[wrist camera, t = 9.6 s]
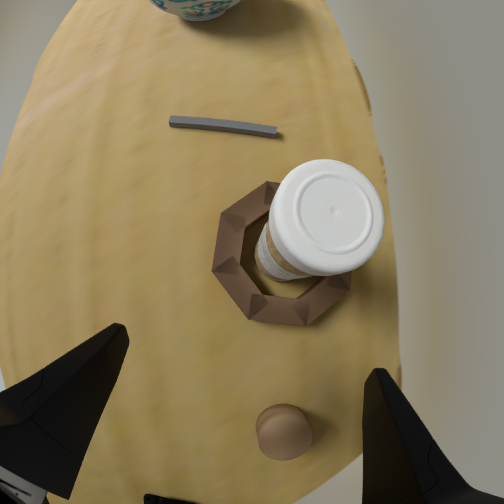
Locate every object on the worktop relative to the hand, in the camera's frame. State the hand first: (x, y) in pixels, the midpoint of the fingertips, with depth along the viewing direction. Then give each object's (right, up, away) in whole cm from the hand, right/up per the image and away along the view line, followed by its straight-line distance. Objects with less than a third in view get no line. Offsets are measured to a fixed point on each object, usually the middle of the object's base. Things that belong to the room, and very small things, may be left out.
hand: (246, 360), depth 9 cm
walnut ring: (+3, +3, +14) cm, 15 cm away
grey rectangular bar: (-3, +15, +15) cm, 22 cm away
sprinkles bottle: (+3, +3, +14) cm, 15 cm away
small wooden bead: (+3, -12, +12) cm, 17 cm away
